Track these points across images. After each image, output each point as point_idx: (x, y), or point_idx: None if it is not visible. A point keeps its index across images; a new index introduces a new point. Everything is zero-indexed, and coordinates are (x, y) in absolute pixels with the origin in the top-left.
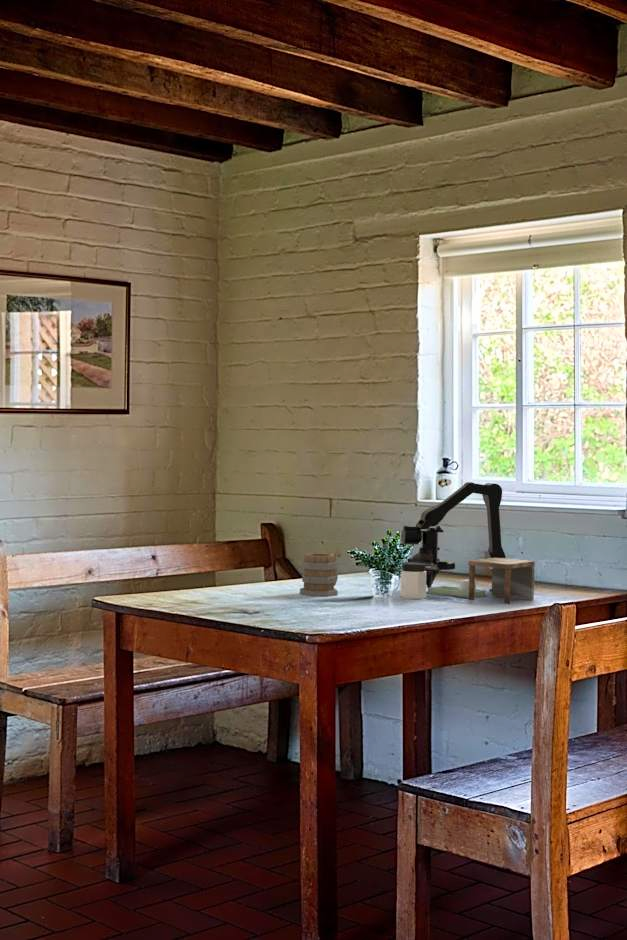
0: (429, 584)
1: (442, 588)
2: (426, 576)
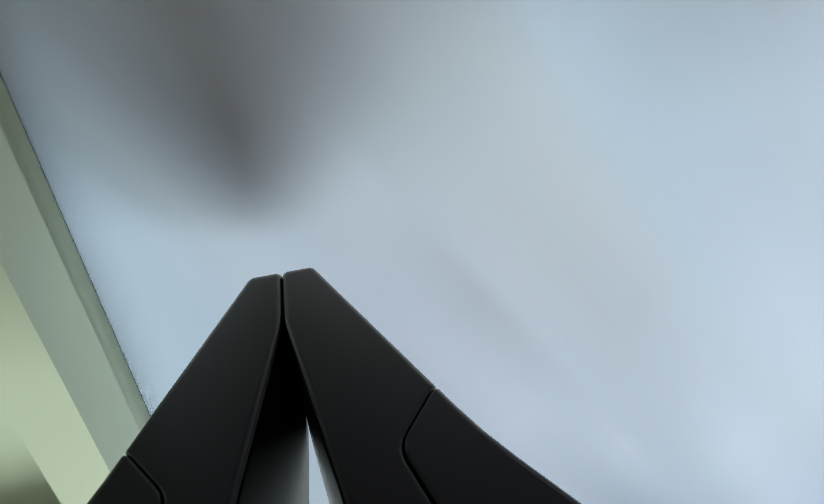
0: (222, 324)
1: None
2: (339, 483)
